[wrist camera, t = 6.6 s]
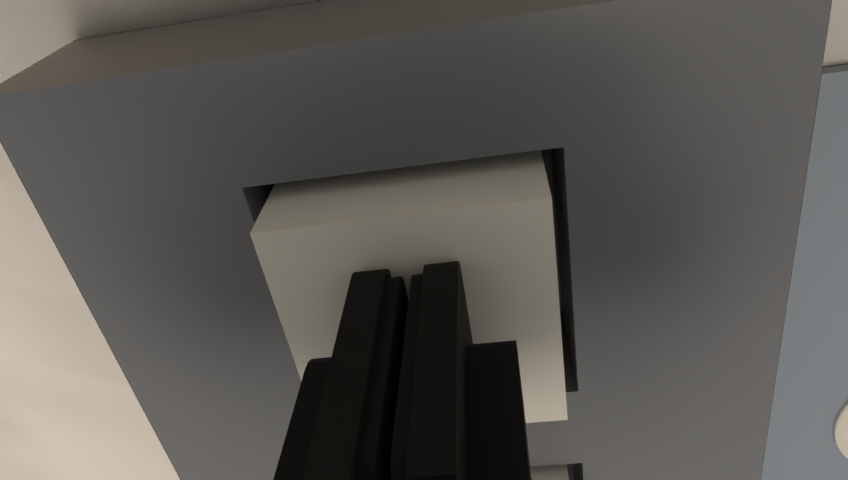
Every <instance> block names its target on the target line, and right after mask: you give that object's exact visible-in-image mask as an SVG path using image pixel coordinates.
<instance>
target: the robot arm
mask: <svg viewBox="0 0 848 480" xmlns="http://www.w3.org/2000/svg"><path fill="white" fill-rule="evenodd" d="M273 480H531V470H530V460H529V450H528V441H527V431H526V421H525V412H524V403H523V394H522V385H521V376H520V368H519V359H518V351H517V343H516V340H513V341H502V342H491V343H480V344H473V340H472V334H471V328H470V322H469V316H468V309H467V303H466V297H465V291H464V285H463V279H462V272H461V266H460V262H459V261H453V262H444V263H435V264H425V265H424V268H423V274H418V275H412V276H411V282H410V291H409V300H408V297H407V292H406V287H405V283H404V280H403V277H402V276H399V277H391V274H390V271H389V270H388V269H379V270H369V271H360V272H354V273H352V276H351V279H350V283H349V287H348V292H347V296H346V300H345V304H344V308H343V312H342V316H341V320H340V324H339V328H338V332H337V337H336V341H335V345H334V349H333V353H332V357H326V358H315V359H311V360H310V361H309V362H308V363H307V366H306V368H305V371H304V374H303V378H302V381H301V385H300V388H299V392H298V395H297V399H296V402H295V406H294V409H293V413H292V416H291V420H290V423H289V427H288V430H287V434H286V437H285V440H284V444H283V447H282V451H281V454H280V458H279V461H278V465H277V468H276V472H275V475H274V479H273Z"/></svg>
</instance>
